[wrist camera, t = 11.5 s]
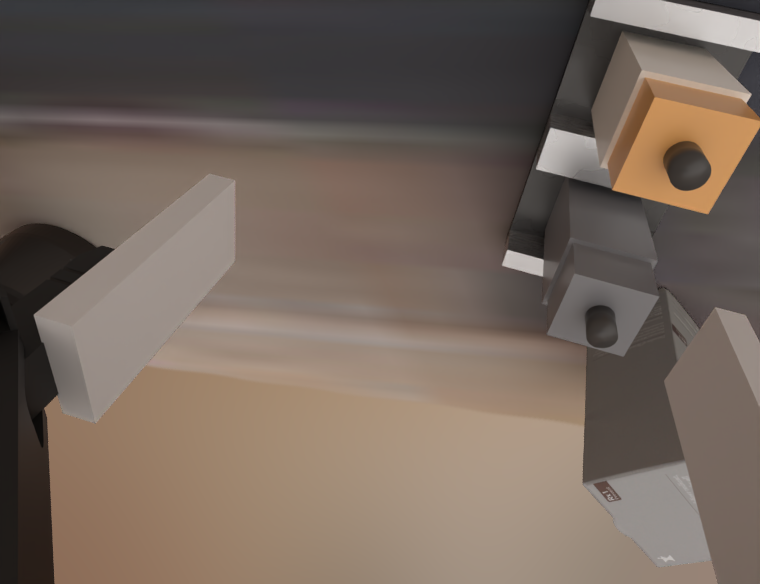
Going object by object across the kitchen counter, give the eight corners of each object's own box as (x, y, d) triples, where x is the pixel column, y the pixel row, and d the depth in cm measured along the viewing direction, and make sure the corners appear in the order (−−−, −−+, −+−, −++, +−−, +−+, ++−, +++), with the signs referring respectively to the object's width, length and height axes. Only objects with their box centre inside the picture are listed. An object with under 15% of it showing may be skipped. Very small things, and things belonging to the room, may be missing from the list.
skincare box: (722, 357, 41) (793, 556, 28) (631, 390, 45) (659, 578, 32) (663, 279, 38) (713, 458, 26) (573, 321, 42) (578, 495, 30)
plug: (622, 30, 30) (657, 100, 19) (705, 48, 30) (788, 131, 19) (591, 110, 33) (606, 210, 22) (666, 128, 32) (719, 239, 22)
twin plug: (544, 229, 38) (539, 356, 27) (568, 170, 35) (571, 286, 25) (609, 246, 37) (629, 383, 27) (638, 187, 35) (672, 314, 24)
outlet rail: (505, 240, 40) (501, 265, 37) (596, -21, 30) (600, -13, 27) (628, 273, 39) (634, 301, 36) (767, 15, 29) (789, 27, 26)
